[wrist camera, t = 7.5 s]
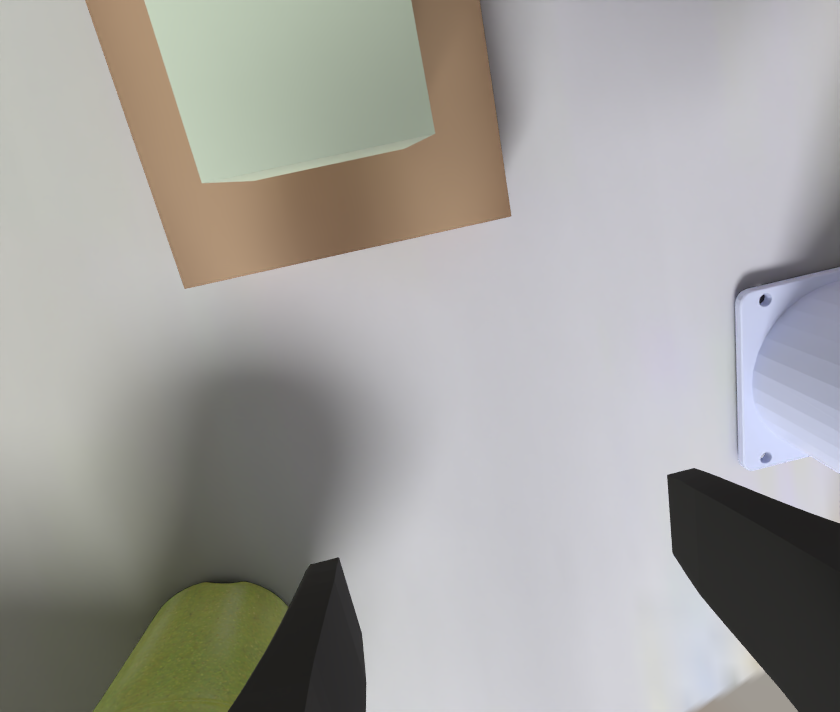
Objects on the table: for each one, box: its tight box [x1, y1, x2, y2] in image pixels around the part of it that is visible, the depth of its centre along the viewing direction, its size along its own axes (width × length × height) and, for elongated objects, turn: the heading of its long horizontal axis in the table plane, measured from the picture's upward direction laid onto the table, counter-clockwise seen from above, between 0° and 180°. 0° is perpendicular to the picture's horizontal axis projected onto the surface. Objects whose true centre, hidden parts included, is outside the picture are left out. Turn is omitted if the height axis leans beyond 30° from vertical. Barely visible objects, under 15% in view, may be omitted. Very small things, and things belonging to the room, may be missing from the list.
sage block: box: [144, 0, 435, 183], centre depth 13 cm, size 4×4×6 cm
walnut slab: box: [85, 0, 511, 289], centre depth 17 cm, size 10×10×3 cm
